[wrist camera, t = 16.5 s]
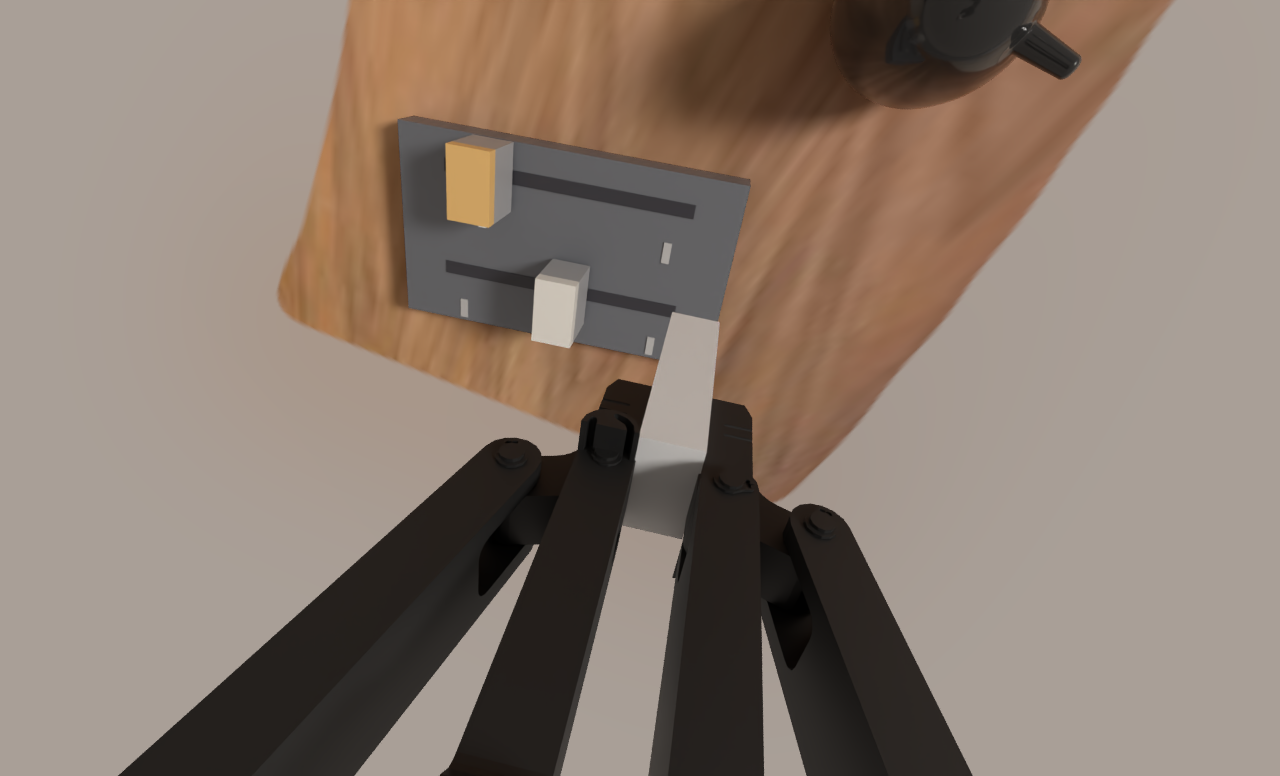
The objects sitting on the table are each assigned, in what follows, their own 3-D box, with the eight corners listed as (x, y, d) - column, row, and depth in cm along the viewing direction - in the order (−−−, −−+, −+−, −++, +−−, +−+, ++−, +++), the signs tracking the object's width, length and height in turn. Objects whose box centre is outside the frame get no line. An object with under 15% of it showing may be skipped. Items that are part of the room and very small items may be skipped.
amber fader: (473, 134, 42) (445, 143, 38) (513, 142, 42) (490, 151, 38) (472, 204, 44) (447, 219, 41) (511, 212, 44) (488, 227, 40)
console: (414, 115, 45) (396, 119, 42) (750, 179, 43) (750, 186, 41) (422, 297, 52) (408, 308, 50) (707, 355, 51) (706, 369, 49)
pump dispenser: (910, 136, 40) (991, 178, 27) (789, 45, 39) (814, 43, 26) (1036, -18, 35) (1208, -56, 22) (903, -130, 34) (1006, -242, 21)
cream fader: (552, 258, 46) (535, 278, 42) (590, 266, 46) (575, 286, 42) (548, 316, 48) (531, 340, 44) (583, 323, 48) (569, 348, 44)
